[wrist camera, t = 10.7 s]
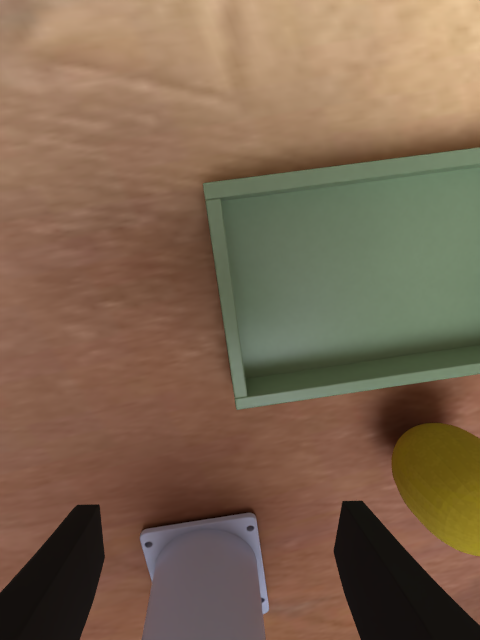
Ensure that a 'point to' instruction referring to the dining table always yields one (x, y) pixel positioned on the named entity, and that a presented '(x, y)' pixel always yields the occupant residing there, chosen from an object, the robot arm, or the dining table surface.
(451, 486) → the lemon
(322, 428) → the dining table surface
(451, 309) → the tray
